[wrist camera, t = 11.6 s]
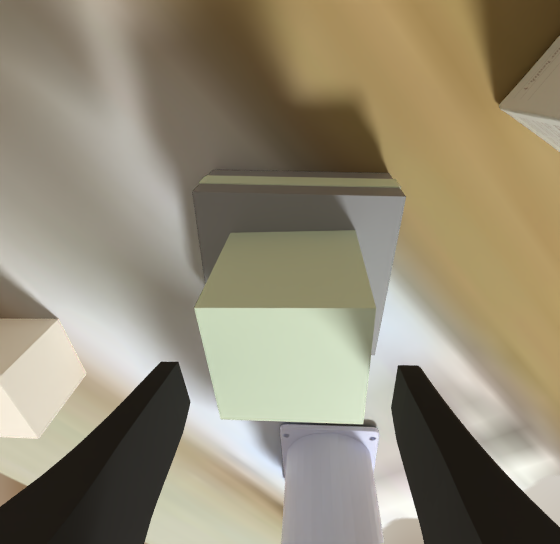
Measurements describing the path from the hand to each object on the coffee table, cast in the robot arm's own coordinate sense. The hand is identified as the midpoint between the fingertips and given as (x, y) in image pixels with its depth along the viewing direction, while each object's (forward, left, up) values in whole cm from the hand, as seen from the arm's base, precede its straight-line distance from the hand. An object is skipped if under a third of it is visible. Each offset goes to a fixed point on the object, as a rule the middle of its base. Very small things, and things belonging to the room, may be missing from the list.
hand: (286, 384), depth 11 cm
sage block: (0, 0, -6) cm, 6 cm away
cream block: (-8, +20, -10) cm, 24 cm away
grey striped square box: (0, 0, -10) cm, 10 cm away
